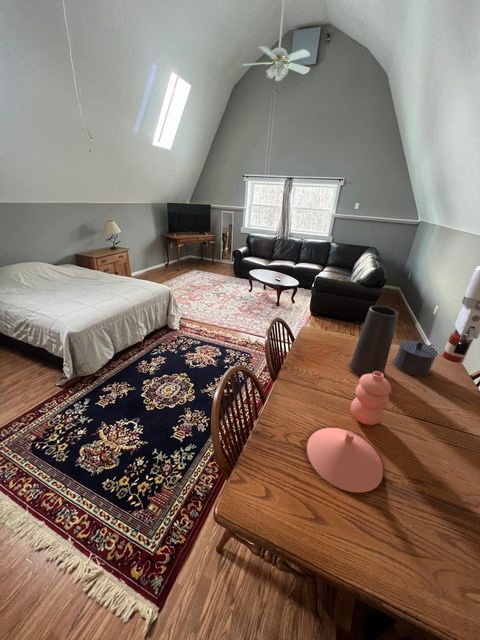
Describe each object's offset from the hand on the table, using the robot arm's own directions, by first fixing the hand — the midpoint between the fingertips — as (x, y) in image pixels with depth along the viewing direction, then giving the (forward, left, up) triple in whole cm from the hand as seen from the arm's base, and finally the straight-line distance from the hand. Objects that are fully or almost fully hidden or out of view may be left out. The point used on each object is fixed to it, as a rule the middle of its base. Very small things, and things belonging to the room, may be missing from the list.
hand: (456, 348), depth 97 cm
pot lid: (+3, -18, -12) cm, 22 cm away
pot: (+3, -18, -21) cm, 28 cm away
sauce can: (0, 0, -4) cm, 4 cm away
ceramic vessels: (+36, +33, -21) cm, 53 cm away
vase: (+24, -9, -21) cm, 34 cm away
